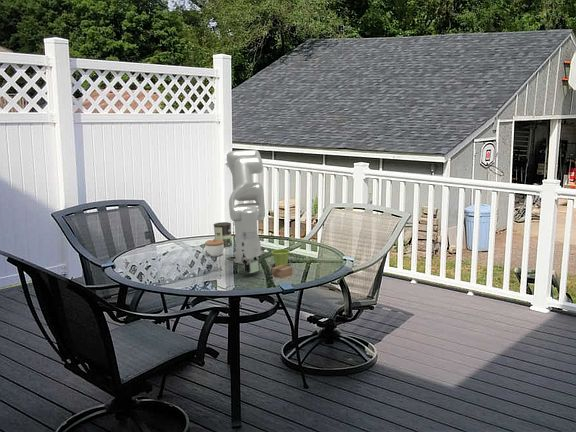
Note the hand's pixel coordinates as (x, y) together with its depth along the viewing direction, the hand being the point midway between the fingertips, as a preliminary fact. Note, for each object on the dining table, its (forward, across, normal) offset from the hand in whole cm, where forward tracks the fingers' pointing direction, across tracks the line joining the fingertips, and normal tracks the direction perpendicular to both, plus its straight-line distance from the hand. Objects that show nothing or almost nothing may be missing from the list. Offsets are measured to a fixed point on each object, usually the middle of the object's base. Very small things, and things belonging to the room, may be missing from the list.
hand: (251, 269), depth 297 cm
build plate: (+4, +8, -13) cm, 16 cm away
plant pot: (+5, +21, 0) cm, 22 cm away
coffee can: (+7, +34, +60) cm, 69 cm away
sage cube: (+1, 0, 0) cm, 1 cm away
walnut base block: (+2, +8, -13) cm, 16 cm away
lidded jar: (+6, +18, +49) cm, 53 cm away
